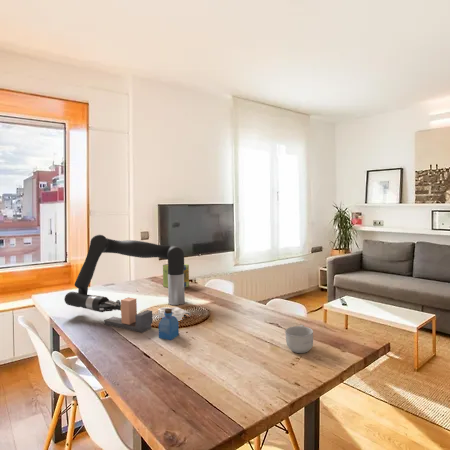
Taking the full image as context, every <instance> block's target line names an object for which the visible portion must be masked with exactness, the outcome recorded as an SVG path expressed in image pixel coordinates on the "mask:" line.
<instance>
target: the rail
mask: <svg viewBox="0 0 450 450" xmlns="http://www.w3.org/2000/svg"><path fill="white" fill-rule="evenodd" d="M135 318H136V322H134V323H132V324H130V325H129V324H124V323H122V321H121V317H118V316H117V317H116V316H111V317H109V318H106V319H104V320H103V321H104V323H103V324H104V325H106V326H111V327H115V328H118V329H119V328H121V329H125V330H128V331H129V330H130V331H134V332H139V333H146V331H148V330H151V329H152V324H153V310H149V309H146V310H144V311H142V312H139V313H137V315H135Z"/></svg>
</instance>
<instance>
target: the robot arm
mask: <svg viewBox="0 0 450 450" xmlns="http://www.w3.org/2000/svg"><path fill="white" fill-rule="evenodd" d="M89 242H90V243H89V247H88V251H87V254H86V256H85V260H84V262H83V264H82V266H81V268H80V271H79V273H78V275H77V278H76V280H75V281H74V287H75V288H77V291H78V292H77V291H69V292H68V293H66V294H65V296H64V303H65V304H66V305H67V306H71V307H74V308H83V309H85V310H89V311H92V312H93V311H94V312H99V313H105V312H113V311H117V310H118V311H121V310H120V308H121V299H117V300H116V301H114V300H110V299H109V298H108V297H106V296H102V295H94V294H88V291H89V286H90V284H91V281H92V279H93V276H94V274H95V271H96V267H97V264H98V262H99V259H100V257H101V255H102V254H103V253H104V254H119V255H122V256H128V257H132V258H133V257H134V258H140V259H141V258H142V259H147V258H148V259H149V258H150V259H151V258H160V259H165V260H167V264H168V287H167V289H168V290H167V293H168V302H167V303H168V304H169V305H170V306H171V305H172V306H179V304H180V305H182V304H183V305H184V303H186V299H185V298H186V297H185V295H186V294H185V289H186V288H184V264H185V253H184V250H183V248H181V247H180V246H178V245H164V244H162V245H161V244H156V243H152V242H147V241H143V240H142V241H141V240H131V239H130V240H129V239H126V240H115V239H111V238H108V237H106V236H104V235H103V234H95V235H93V237H92V238H91V239H90V240H89Z"/></svg>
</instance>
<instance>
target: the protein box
mask: <svg viewBox="0 0 450 450" xmlns="http://www.w3.org/2000/svg"><path fill="white" fill-rule="evenodd" d="M189 266H190V264H188V263H187V264H186V263H184V289H186V288H189V287H190V268H189ZM162 286H163V287H164V288H168V263H165V264H163V265H162Z"/></svg>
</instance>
